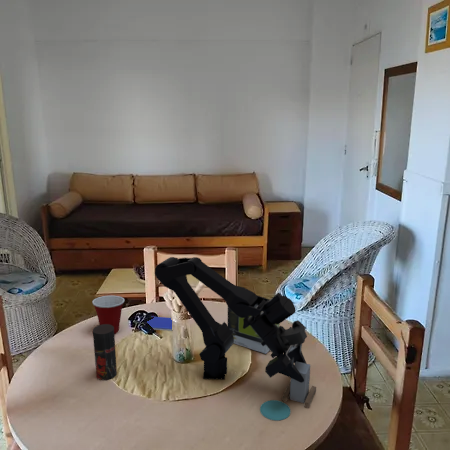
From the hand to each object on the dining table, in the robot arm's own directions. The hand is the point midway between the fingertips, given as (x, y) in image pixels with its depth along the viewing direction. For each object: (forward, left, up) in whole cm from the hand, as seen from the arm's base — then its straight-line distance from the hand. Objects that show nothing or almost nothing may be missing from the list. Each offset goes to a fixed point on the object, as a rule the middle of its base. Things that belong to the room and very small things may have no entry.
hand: (305, 376), depth 125 cm
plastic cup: (-63, +34, -7) cm, 72 cm away
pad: (-8, -6, -7) cm, 12 cm away
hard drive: (-48, +40, -7) cm, 63 cm away
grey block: (-1, +1, -7) cm, 7 cm away
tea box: (-13, +29, -7) cm, 33 cm away
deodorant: (-57, +8, -7) cm, 58 cm away
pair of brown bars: (-1, +1, -7) cm, 7 cm away
